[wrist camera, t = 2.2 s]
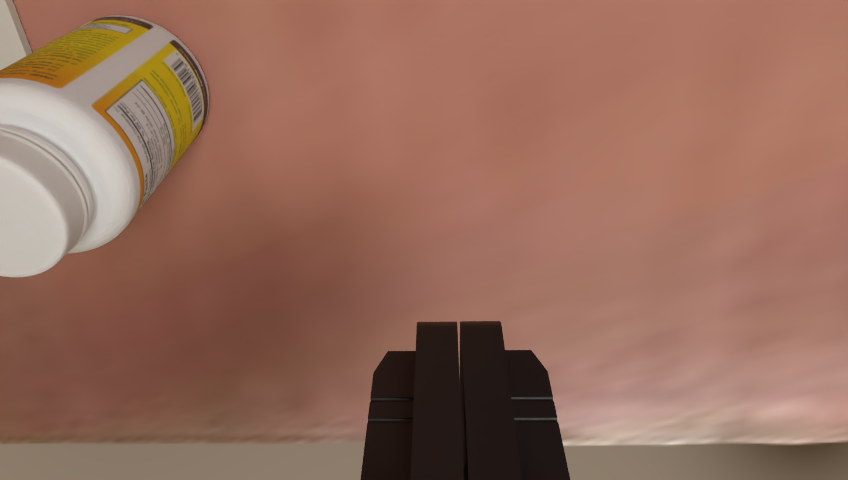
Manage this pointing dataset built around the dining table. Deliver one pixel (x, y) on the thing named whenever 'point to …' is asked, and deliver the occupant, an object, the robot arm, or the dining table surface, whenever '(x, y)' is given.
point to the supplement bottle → (91, 136)
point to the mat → (11, 35)
